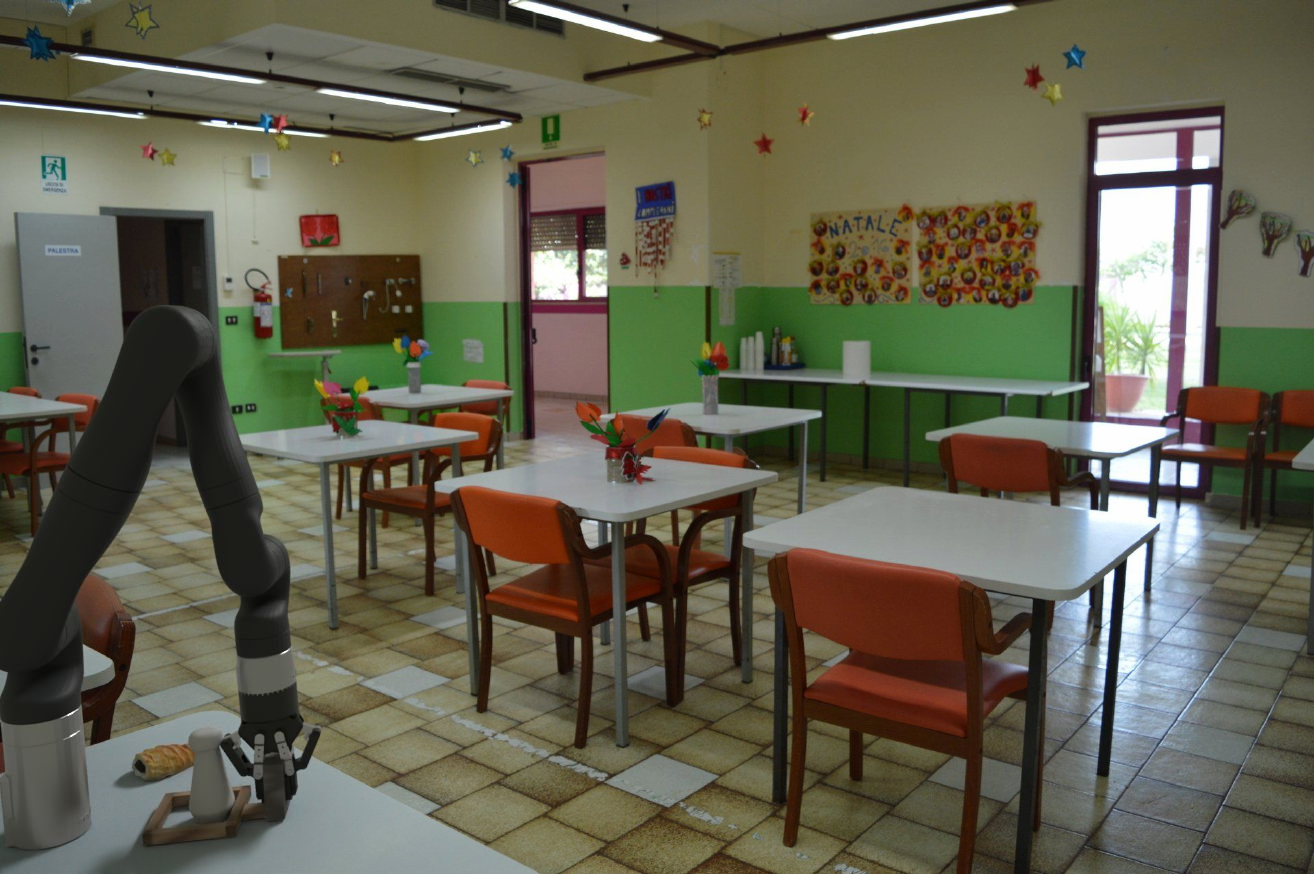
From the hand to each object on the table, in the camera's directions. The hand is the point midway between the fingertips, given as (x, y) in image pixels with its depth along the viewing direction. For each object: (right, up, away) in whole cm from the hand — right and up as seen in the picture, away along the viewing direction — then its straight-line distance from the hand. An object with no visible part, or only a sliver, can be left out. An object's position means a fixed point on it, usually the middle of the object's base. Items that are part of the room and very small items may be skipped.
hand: (278, 798), depth 140 cm
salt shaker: (-8, -3, -1) cm, 9 cm away
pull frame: (-7, -2, -1) cm, 8 cm away
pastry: (-23, -1, +14) cm, 27 cm away
